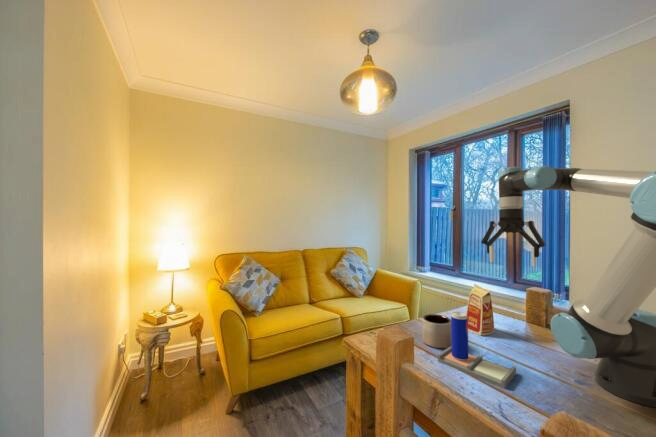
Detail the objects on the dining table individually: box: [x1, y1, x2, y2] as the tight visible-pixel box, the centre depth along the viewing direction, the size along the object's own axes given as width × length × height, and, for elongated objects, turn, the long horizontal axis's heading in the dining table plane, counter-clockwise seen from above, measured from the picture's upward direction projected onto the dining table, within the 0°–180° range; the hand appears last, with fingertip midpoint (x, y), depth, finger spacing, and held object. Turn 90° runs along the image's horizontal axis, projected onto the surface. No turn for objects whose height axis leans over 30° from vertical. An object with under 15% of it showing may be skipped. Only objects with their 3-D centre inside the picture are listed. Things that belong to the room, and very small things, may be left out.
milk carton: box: [465, 283, 495, 336], centre depth 117 cm, size 9×9×20 cm
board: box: [437, 345, 517, 389], centre depth 88 cm, size 20×11×2 cm, turn 40°
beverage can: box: [450, 311, 469, 361], centre depth 92 cm, size 5×5×15 cm
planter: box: [422, 313, 452, 350], centre depth 106 cm, size 11×11×10 cm
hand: (511, 263), depth 102 cm, fingers open, 13 cm apart
